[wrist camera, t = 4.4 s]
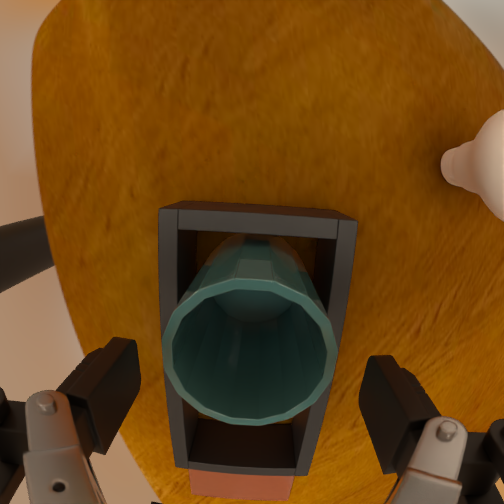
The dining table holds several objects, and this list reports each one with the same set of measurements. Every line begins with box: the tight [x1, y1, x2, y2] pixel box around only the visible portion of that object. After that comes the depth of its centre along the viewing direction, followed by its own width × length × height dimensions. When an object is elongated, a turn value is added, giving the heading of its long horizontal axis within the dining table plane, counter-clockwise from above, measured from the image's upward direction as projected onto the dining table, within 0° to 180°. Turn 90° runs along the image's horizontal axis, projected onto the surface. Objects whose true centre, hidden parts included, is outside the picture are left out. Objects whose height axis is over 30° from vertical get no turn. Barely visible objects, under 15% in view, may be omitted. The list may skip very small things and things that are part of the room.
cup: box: [162, 233, 338, 426], centre depth 16 cm, size 6×6×10 cm
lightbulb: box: [441, 110, 504, 221], centre depth 13 cm, size 6×6×11 cm
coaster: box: [189, 469, 294, 501], centre depth 25 cm, size 10×10×1 cm
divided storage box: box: [158, 201, 358, 476], centre depth 19 cm, size 10×18×5 cm, turn 177°
